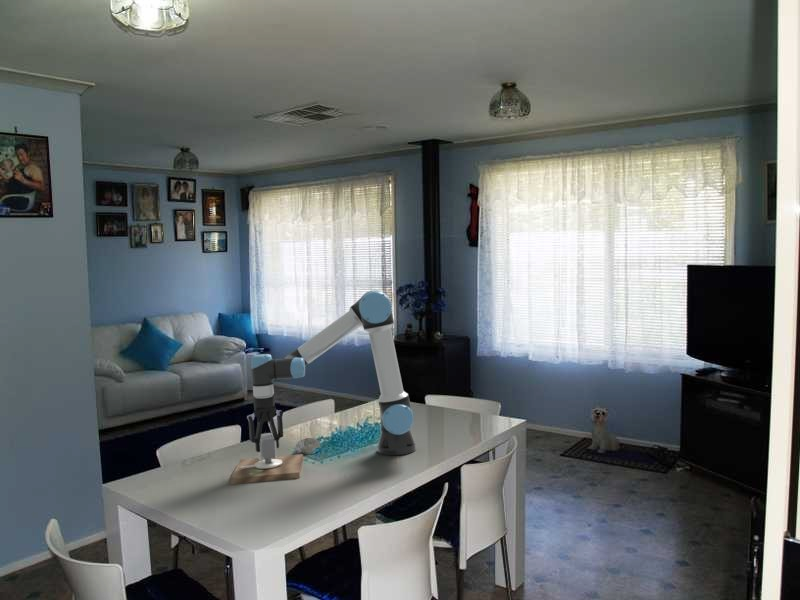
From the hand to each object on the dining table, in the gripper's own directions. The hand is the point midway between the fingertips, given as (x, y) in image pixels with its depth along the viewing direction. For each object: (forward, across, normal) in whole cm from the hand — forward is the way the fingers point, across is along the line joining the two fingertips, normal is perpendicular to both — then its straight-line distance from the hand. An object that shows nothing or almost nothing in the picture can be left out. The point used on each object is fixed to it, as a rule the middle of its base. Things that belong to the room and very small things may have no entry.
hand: (268, 458), depth 235 cm
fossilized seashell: (+5, -22, -15) cm, 27 cm away
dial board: (+5, 0, 0) cm, 5 cm away
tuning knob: (+2, +2, 0) cm, 3 cm away
